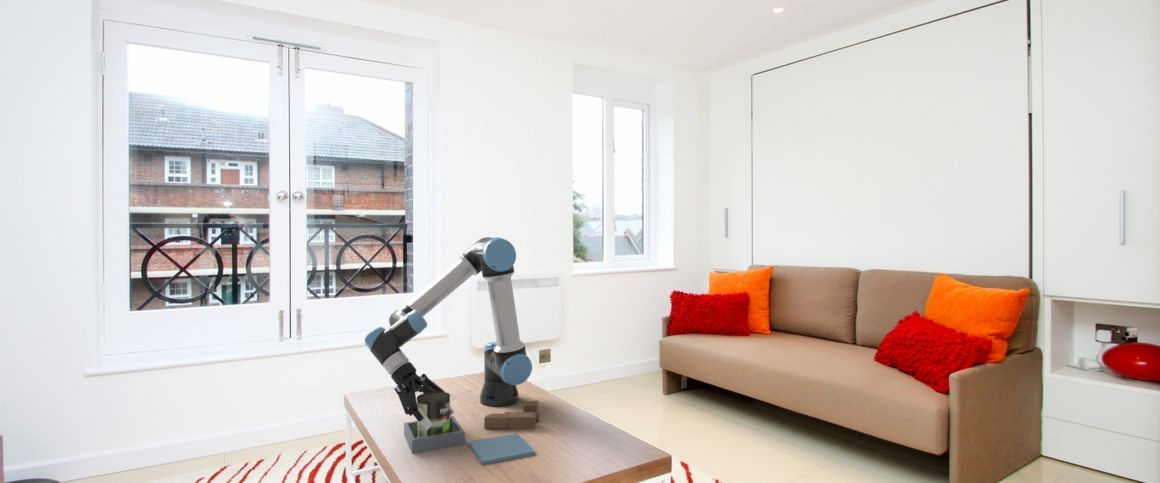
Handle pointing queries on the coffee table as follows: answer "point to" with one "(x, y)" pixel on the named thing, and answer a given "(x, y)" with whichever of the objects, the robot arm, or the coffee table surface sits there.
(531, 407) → the wooden block set
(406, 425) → the bin
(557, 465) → the coffee table surface
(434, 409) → the coffee can
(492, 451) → the board
